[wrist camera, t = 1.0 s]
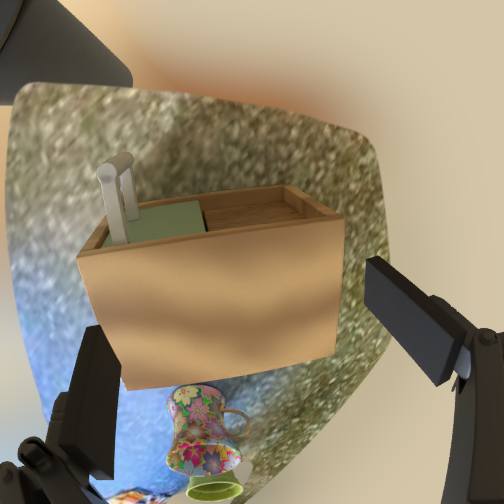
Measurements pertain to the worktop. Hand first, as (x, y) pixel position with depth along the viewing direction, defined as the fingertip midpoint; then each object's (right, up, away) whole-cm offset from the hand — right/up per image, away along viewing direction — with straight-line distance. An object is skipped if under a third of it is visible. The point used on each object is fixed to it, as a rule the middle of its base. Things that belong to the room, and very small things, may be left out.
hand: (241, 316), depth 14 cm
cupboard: (-4, +3, +18) cm, 19 cm away
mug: (-6, -17, +27) cm, 32 cm away
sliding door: (-8, +9, +13) cm, 18 cm away
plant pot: (-7, -33, +33) cm, 47 cm away
